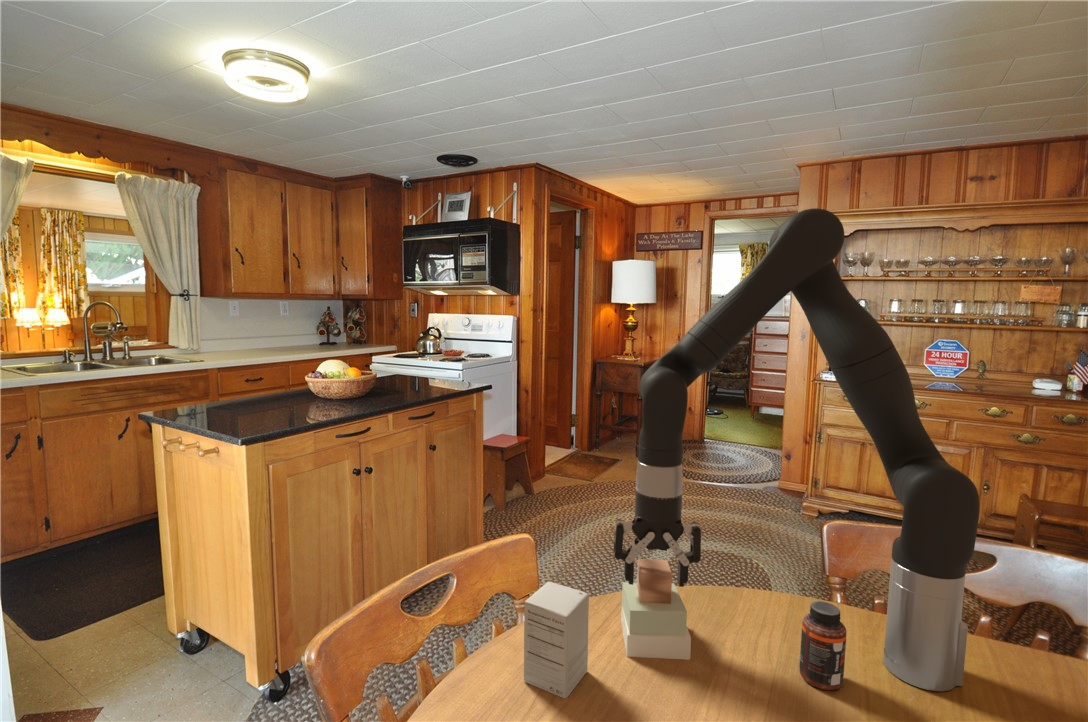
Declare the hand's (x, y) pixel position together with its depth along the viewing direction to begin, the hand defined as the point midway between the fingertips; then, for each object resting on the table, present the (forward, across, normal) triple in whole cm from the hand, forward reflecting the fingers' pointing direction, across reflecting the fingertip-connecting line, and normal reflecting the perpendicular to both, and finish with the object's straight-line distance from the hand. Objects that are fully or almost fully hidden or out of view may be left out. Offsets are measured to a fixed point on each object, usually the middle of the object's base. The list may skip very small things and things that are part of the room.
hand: (655, 583), depth 90 cm
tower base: (+10, 0, 0) cm, 10 cm away
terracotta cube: (+2, 0, 0) cm, 2 cm away
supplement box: (+10, +16, +11) cm, 22 cm away
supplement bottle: (+10, -24, +8) cm, 27 cm away
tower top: (+6, 0, 0) cm, 6 cm away
